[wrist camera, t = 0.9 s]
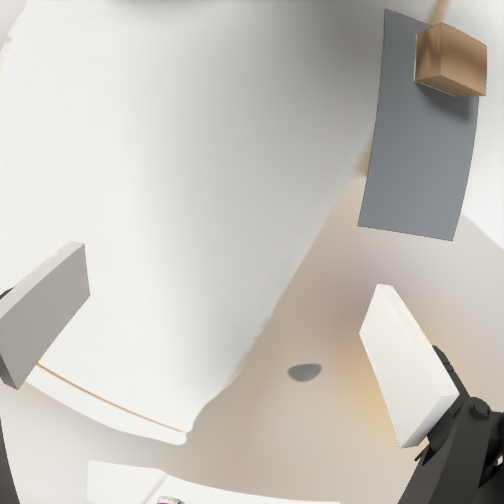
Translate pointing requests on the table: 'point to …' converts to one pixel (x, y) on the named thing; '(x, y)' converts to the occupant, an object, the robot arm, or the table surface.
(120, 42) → the table surface
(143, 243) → the table surface
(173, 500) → the supplement can
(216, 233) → the table surface
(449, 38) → the light wooden block
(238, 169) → the table surface
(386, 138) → the rubber mat
